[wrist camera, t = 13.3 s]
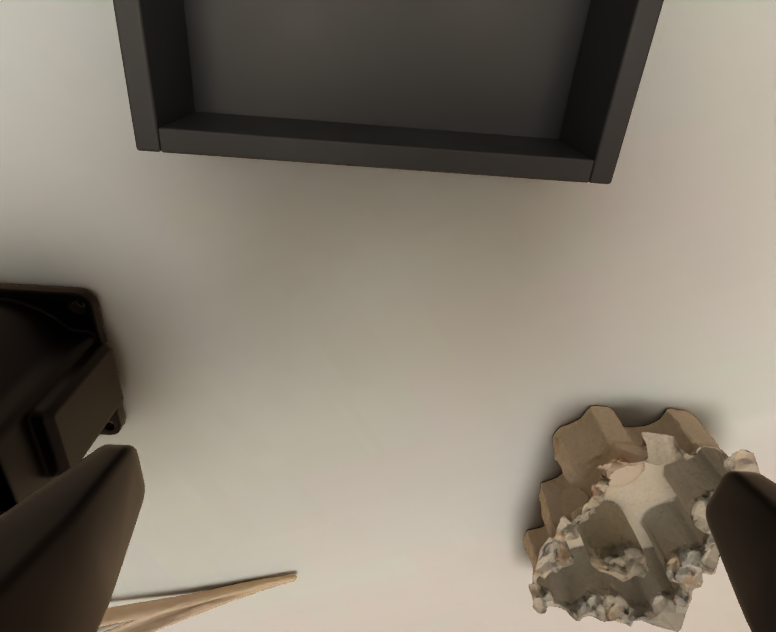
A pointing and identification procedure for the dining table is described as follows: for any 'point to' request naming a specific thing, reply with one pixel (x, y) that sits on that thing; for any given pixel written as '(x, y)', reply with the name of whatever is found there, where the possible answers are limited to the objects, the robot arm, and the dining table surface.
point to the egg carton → (628, 518)
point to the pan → (390, 81)
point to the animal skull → (182, 606)
